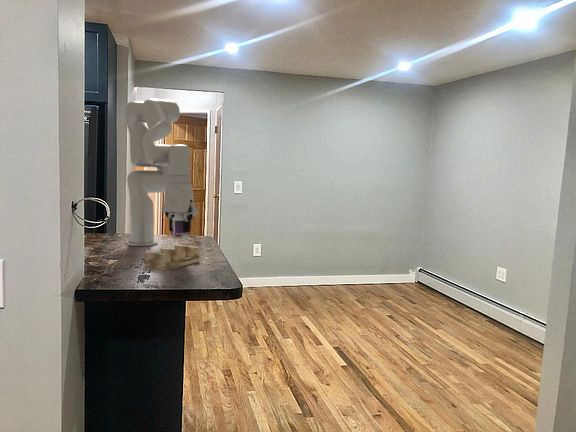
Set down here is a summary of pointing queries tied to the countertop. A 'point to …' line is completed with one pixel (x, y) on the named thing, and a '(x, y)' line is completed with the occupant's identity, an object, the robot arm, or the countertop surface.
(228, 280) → the countertop surface
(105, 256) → the countertop surface
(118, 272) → the countertop surface
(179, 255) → the rack
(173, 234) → the pill bottle
